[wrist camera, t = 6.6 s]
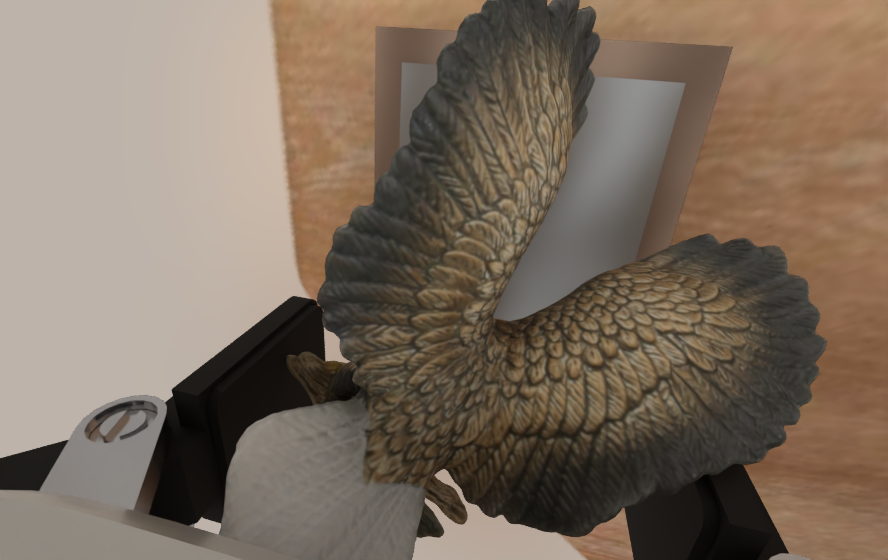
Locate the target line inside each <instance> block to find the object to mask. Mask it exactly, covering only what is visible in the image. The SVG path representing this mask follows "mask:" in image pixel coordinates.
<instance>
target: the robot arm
mask: <svg viewBox="0 0 888 560" xmlns="http://www.w3.org/2000/svg"><path fill="white" fill-rule="evenodd" d="M322 315H323V310H322V308H321V307H320V306H318V305H317V302H316V301H315V300H313V299H307V298H302V297H297V296H293V297H291V298H289V299H288V300H287V301H285V302H284V303H283V304H282V305H280V306H279V307H278V308H276V309H275V310H274V311H272V312H271V313H270V314H268V315H267V316H266V317H265V318H263V319H262V320H261V321H259V322H258V323H257V324H256V325H254V326H253V327H252V328H250V329H249V330H248V331H246V332H245V333H244V334H243V335H241V336H240V337H239V338H237V339H236V340H235V341H234V342H233V343H231V344H230V345H228V346H227V347H226V348H224V349H223V350H222V351H221V352H219V353H218V354H217V355H215V356H214V357H213V358H212V359H210V360H209V361H208V362H206V363H205V364H204V365H202V366H201V367H200V368H199V369H197V370H196V371H195V372H193V373H192V374H191V375H190V376H188V377H187V378H186V379H184V380H183V381H182V382H181V383H179V384H178V385H177V386H176V387H174V388H173V389H172V393H173V397H171V398H170V399H169V400H168V401H166V402H164V401H163V400H161V399H159V398H157V397H155V396H148V395H139V396H131V397H126V398H121V399H118V400H115V401H113V402H110V403H107V404H105V405H103V406H101V407H100V408H98V409H96V410H94V411H93V412H91V413H90V414H89V415H87V416H86V417H85V418H84V419H83V420H82V421H81V422H80V423H79V425H78V426H77V427H76V428H75V430H74V432H73V434H72V435H71V437H70V439H69V440H66V441H62V442H58V443H55V444H51V445H47V446H44V447H40V448H36V449H33V450H29V451H25V452H22V453H18V454H14V455H11V456H7V457H3V458H0V560H301V559H298V558H295V557H291V556H288V555H285V554H281V553H278V552H274V551H271V550H268V549H264V548H261V547H258V546H254V545H251V544H248V543H244V542H241V541H238V540H234V539H231V538H228V537H224V536H221V535H217V534H214V533H211V532H207V531H204V530H201V529H197V528H194V524H195V523H197V522H198V521H199V520H200V518H201V517H203V518H205V519H208V520H211V521H215V522H218V523H221V521H222V518H223V513H224V502H225V490H226V477H227V472H228V469H229V466H230V463H231V460H232V458H233V456H234V454H235V452H236V444H237V443H238V441H239V439H240V438H241V436H242V435H243V433H244V432H245V431H246V429H247V428H248V427H250V426H251V425H252V424H254V423H255V422H256V421H258V420H262V419H264V418H265V417H267V416H269V415H271V414H273V413H279V412H281V411H285V410H291V409H297V408H299V407H307V406H313V403H312V401H311V399H310V397H309V395H308V393H307V391H306V389H305V388H304V387H303V386H302V385H301V383H300V382H299V381H298V380H297V379H296V378H295V377H294V376H293V375H292V374H291V372H290V371H289V369H288V367H287V363H286V357H287V356H288V355H296V356H299V355H300V354H301V353H302V352H310V353H313V354H315V355H316V356H317V357H318V358H320V359H321V360H323V361H325V344H324V326H323V321H322ZM625 513H626V518H627V524H628V529H629V535H630V541H631V546H632V552H633V557H634V560H812V559H809V558H806V557H803V556H800V555H796V554H789V552H788V550H787V549H786V547H785V545H784V543H783V541H782V539H781V537H780V535H779V533H778V531H777V529H776V527H775V526H774V524H773V522H772V520H771V518H770V516H769V514H768V512H767V510H766V508H765V506H764V504H763V502H762V501H761V499H760V497H759V495H758V493H757V491H756V489H755V487H754V485H753V483H752V481H751V479H750V478H749V476H748V474H747V472H746V470H745V468H744V466H743V465H741V464H737V463H735V464H732V465H731V466H729V467H728V468H726V469H725V470H723V471H722V472H721V473H719V474H718V475H709V474H706V475H703V476H702V477H700V478H699V479H698V480H697V481H694V482H692V483H690V484H688V485H686V486H684V487H682V488H681V489H680V490H679V492H678V493H676V494H673V495H671V496H659V495H654V496H649V497H648V498H647V499H646V500H645V501H644V502H642V503H641V504H640V505H638V506H629V507H625Z"/></svg>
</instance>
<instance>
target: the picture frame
mask: <svg viewBox="0 0 888 560" xmlns="http://www.w3.org/2000/svg"><path fill="white" fill-rule="evenodd" d="M457 32H458V31H449V30H432V29H414V28H397V27H380V26H376V63H375V187H376V182H378V181H379V177H380V176H382V175H383V174H384V173H385V172H387V171H388V170H389V169H390V165H391V161H392V157H393V156H394V154H395V153H396V151H397V150H398V149H399V148H400V147H402V146H404V145H407V144H409V143H410V136H409V124H410V119H411V116H412V111H413V110H414V109H415V108H416V107H417V106H418V105H419V104H420V103H421V101H422V99H423V97H424V95H425V93H426V92H427V90H428V89H429V88H431V87H432V86H434V85H435V84H436V82H437V65H436V61H437V58H438V56H439V54H440V52H441V50H442V49H443V47H444V46H445V45H446V44H449V43H453V42H454V41H455V40H456V36H457ZM732 48H733V47H726V46H709V45H692V44H674V43H657V42H640V41H622V40H605V39H601V41H600V46H599V49H598V51H597V54H596V56H595V58H594V60H593V62H592V63H591V65H590V67H589V68H590V69H591V71H592V72H593V74H594V77H595V82H594V84H593V87H592V90H591V92H590V94H589V96H588V98H587V100H586V103H585V104H586V106H587V109H588V115H587V118H586V120H585V122H584V124H583V126H582V128H581V129H580V131H579V132H578V134H577V135H576V137H575V138H574V140H573V141H572V144H571V149H570V153H569V157H568V165H567V172H566V176H565V179H564V181H563V183H562V184H561V186H560V188H559V190H558V193H557V195H556V198H555V200H554V201H553V203H552V205H551V207H550V208H549V210H548V212H547V214H546V216H545V218H544V221H543V222H542V224H541V226H540V227H539V229H538V230H537V232H536V234H535V236H534V237H533V239H532V241H531V243H530V245H529V246H528V248H527V250H526V251H525V253H524V254H523V256H522V258H521V260H520V262H519V264H518V266H517V268H516V269H515V271H514V273H513V275H512V276H511V278H510V280H509V282H508V284H507V286H506V288H505V290H504V292H503V294H502V296H501V298H500V301H499V303H498V306H497V308H496V310H495V312H494V315H493V318H495V319H503V320H506V321H513V320H517V319H521V318H525V317H527V316H529V315H531V314H533V313H535V312H537V311H539V310H541V309H544V308H546V307H548V306H550V305H552V304H553V303H555V302H557V301H558V300H560V299H562V298H563V297H565V296H566V295H568V294H570V293H571V292H572V291H574V290H575V289H576V288H577V287H579V286H580V285H581V284H583V283H584V282H586V281H588V280H590V279H591V278H593V277H595V276H597V275H599V274H601V273H604V272H606V271H609V270H613V269H617V268H619V267H621V266H623V265H626V264H628V263H633V262H638V261H639V260H641V259H643V258H645V257H647V256H649V255H652V254H654V253H656V252H658V251H662V250H664V249H666V248H668V247H670V244H671V241H672V238H673V235H674V232H675V229H676V225H677V222H678V219H679V216H680V213H681V210H682V206H683V203H684V200H685V197H686V194H687V191H688V187H689V184H690V181H691V178H692V175H693V172H694V168H695V165H696V162H697V159H698V156H699V153H700V149H701V146H702V143H703V140H704V137H705V134H706V131H707V127H708V124H709V121H710V118H711V115H712V112H713V108H714V105H715V102H716V99H717V96H718V93H719V89H720V86H721V83H722V80H723V77H724V74H725V70H726V67H727V64H728V61H729V58H730V55H731V51H732Z"/></svg>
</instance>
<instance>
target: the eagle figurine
mask: <svg viewBox="0 0 888 560" xmlns="http://www.w3.org/2000/svg"><path fill="white" fill-rule="evenodd" d="M579 2H580V0H553V1H552V2H551V3H550V4H549V6H547V0H487V1H486V2H485V3H484V4H483V6H482V10H481V12H480V13H474V14H471V15H468V16H467V17H465V19H464V21H463V22H462V23H461V25H460V27H459V29H458V32H457V36H456V40H455V41H454V42H453V43H449V44H446V45H445V46H444V47H443V49H442V50H441V52H440V54H439V56H438V58H437V61H436V65H437V82H436V84H435V85H434V86H432V87H431V88H429V89H428V90H427V92H426V93H425V95H424V97H423V99H422V101H421V103H420V104H419V105H418V106H417V107H416V108H415V109H414V110H413V111H412V116H411V119H410V124H409V136H410V143H409V144H407V145H404V146H402V147H400V148H399V149H398V150H397V151H396V153H395V154H394V156H393V157H392V161H391V165H390V169H389V170H388V171H387V172H385V173H384V174H383V175H382V176H380V177H379V181H378V182H376V187H375V192H374V202H373V204H371V205H369V206H359V207H357V208H355V209H354V210H353V211H352V214H351V218H350V220H349V223H347V224H345V225H343V226H341V227H339V228H337V229H336V231H335V233H334V235H333V245H332V249H331V250H330V252H329V253H328V255H327V257H326V263H325V273H326V281H325V282H324V283H323V285H322V286H321V288H320V290H319V293H318V296H317V303H318V304H319V305H320V306H321V307H322V308H323V309H324V311H323V315H322V321H323V326H324V327H325V328H326V329H327V330H328V331H330V332H333V333H335V334H336V335H337V336H338V337H339V339H340V351H341V354H342V356H343V357H344V358H346V359H347V360H349V361H351V362H349V363H347V364H346V363H342V362H337V361H323V360H321V359H320V358H318V357H317V356H316V355H315V354H313V353H310V352H302V353H301V354H300V355H299V356H296V355H288V356H287V357H286V363H287V367H288V369H289V371H290V372H291V374H292V375H293V376H294V377H295V378H296V379H297V380H298V381H299V382H300V383H301V385H302V386H303V387H304V388H305V389H306V391H307V393H308V395H309V397H310V399H311V401H312V403H313V406H307V407H299V408H297V409H291V410H285V411H281V412H279V413H273V414H271V415H269V416H267V417H265V418H264V419H262V420H258V421H256V422H255V423H254V424H252V425H251V426H250V427H248V428H247V429H246V431H245V432H244V433H243V435H242V436H241V438H240V439H239V441H238V443H237V444H236V452H235V454H234V456H233V458H232V460H231V463H230V466H229V469H228V472H227V477H226V490H225V502H224V513H223V518H222V521H221V529H220V532H219V535H221V536H224V537H228V538H231V539H234V540H238V541H241V542H244V543H248V544H251V545H254V546H258V547H261V548H264V549H268V550H271V551H274V552H278V553H281V554H285V555H288V556H291V557H295V558H298V559H301V560H412V557H413V552H414V545H415V544H414V543H415V541H416V537H419V538H422V537H426V536H432V537H441V536H442V535H443V534H444V530H443V527H442V526H441V524H440V522H439V521H438V519H437V517H436V516H435V514H434V512H433V511H432V510H431V509H430V508H429V507H428V506H427V505H426V504H425V502H424V500H425V498H427V499H428V500H430V501H432V502H433V503H435V504H436V505H437V506H438V507H439V508H440V509H441V511H442V512H443V513H444V514H445V515H446V516H447V517H448V518H449V519H451V520H452V521H454V522H455V523H457V524H464V523H465V522H466V520H467V512H466V509H465V506H464V504H463V503H462V501H461V499H460V497H459V495H458V494H457V492H456V490H455V489H454V488H453V487H451V486H449V485H446V484H444V483H442V482H441V481H440V480H438V479H437V478H436V477H435V476H434V475H435V474H436V473H437V472H439V471H440V470H442V469H446V470H447V471H448V472H449V474H450V476H451V477H452V479H453V480H454V482H455V483H456V484H457V485H458V486H459V487H460V488H461V489H462V492H463V495H464V498H465V500H466V501H467V502H468V503H471V504H475V505H477V506H479V508H480V509H481V511H482V512H483V513H484V514H485V515H487V516H489V517H493V518H495V517H497V516H499V515H504V517H505V518H506V520H507V521H508V522H509V523H511V524H521V525H525V526H528V527H532V528H536V529H538V530H541V531H544V532H557V533H559V534H562V535H565V536H570V537H580V536H585V535H587V534H589V533H590V532H591V531H592V530H593V529H594V527H595V526H597V525H599V524H601V523H604V522H607V521H609V520H611V519H612V518H614V517H616V515H617V514H618V513H619V512H620V511H621V509H622V508H624V507H629V506H638V505H640V504H641V503H642V502H644V501H645V500H646V499H647V498H648V497H649V496H654V495H659V496H671V495H673V494H676V493H678V492H679V490H680V489H681V488H682V487H684V486H686V485H688V484H690V483H692V482H694V481H697V480H698V479H699V478H700V477H702V476H703V475H706V474H709V475H718V474H719V473H721V472H722V471H723V470H725V469H726V468H728V467H729V466H731V465H732V464H735V463H737V464H741V465H747V464H753V463H757V462H760V461H761V460H763V459H764V457H765V456H766V454H767V452H768V450H770V449H772V448H775V447H778V446H780V445H782V444H783V443H784V442H785V440H786V432H785V430H784V426H785V425H794V424H796V423H797V422H798V420H799V418H800V415H801V414H800V410H799V408H800V407H801V406H802V405H804V404H806V403H808V402H809V401H810V400H811V398H812V394H811V391H810V387H809V386H810V385H811V383H812V382H813V381H814V380H815V378H816V377H817V376H818V374H819V367H818V366H817V365H816V364H815V362H816V361H817V359H818V358H819V357H820V356H821V355H822V353H823V352H824V350H825V347H826V343H827V341H826V340H825V339H824V338H822V337H821V336H819V335H817V334H816V332H815V329H816V326H817V324H818V322H819V319H820V313H819V311H818V309H817V308H816V307H815V306H814V305H813V304H812V303H811V302H810V300H809V299H808V294H809V286H808V283H807V281H806V279H804V278H802V277H800V276H795V275H791V274H788V273H787V266H788V265H787V259H786V257H785V254H784V252H783V251H782V250H781V248H780V247H778V246H766V247H756V246H755V245H754V244H753V243H752V241H750V240H748V239H746V238H739V239H734V240H731V241H728V242H726V243H723V244H720V243H718V241H717V240H716V239H715V237H714V236H713V235H711V234H704V235H700V236H697V237H694V238H691V239H689V240H685V241H682V242H680V243H678V244H675V245H672V246H670V247H668V248H666V249H664V250H662V251H658V252H656V253H654V254H652V255H649V256H647V257H645V258H643V259H641V260H639V261H638V262H633V263H628V264H626V265H623V266H621V267H619V268H617V269H613V270H609V271H606V272H604V273H601V274H599V275H597V276H595V277H593V278H591V279H590V280H588V281H586V282H584V283H583V284H581V285H580V286H579V287H577V288H576V289H575V290H574V291H572V292H571V293H570V294H568V295H566V296H565V297H563V298H562V299H560V300H558V301H557V302H555V303H553V304H552V305H550V306H548V307H546V308H544V309H541V310H539V311H537V312H535V313H533V314H531V315H529V316H527V317H525V318H521V319H517V320H513V321H506V320H503V319H495V318H493V315H494V312H495V310H496V308H497V306H498V303H499V301H500V298H501V296H502V294H503V292H504V290H505V288H506V286H507V284H508V282H509V280H510V278H511V276H512V275H513V273H514V271H515V269H516V268H517V266H518V264H519V262H520V260H521V258H522V256H523V254H524V253H525V251H526V250H527V248H528V246H529V245H530V243H531V241H532V239H533V237H534V236H535V234H536V232H537V230H538V229H539V227H540V226H541V224H542V222H543V221H544V218H545V216H546V214H547V212H548V210H549V208H550V207H551V205H552V203H553V201H554V200H555V198H556V195H557V193H558V190H559V188H560V186H561V184H562V183H563V181H564V179H565V176H566V172H567V165H568V157H569V153H570V149H571V144H572V141H573V140H574V138H575V137H576V135H577V134H578V132H579V131H580V129H581V128H582V126H583V124H584V122H585V120H586V118H587V115H588V109H587V106H586V104H585V103H586V100H587V98H588V96H589V94H590V92H591V90H592V87H593V84H594V82H595V77H594V74H593V72H592V71H591V69H590V68H589V67H590V65H591V63H592V62H593V60H594V58H595V56H596V54H597V51H598V49H599V46H600V41H601V38H600V36H599V35H598V34H597V33H596V32H592V29H593V26H594V24H595V20H596V12H595V10H594V9H593V8H592V7H590V6H589V7H587V8H583V9H581V10H578V8H579Z"/></svg>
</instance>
